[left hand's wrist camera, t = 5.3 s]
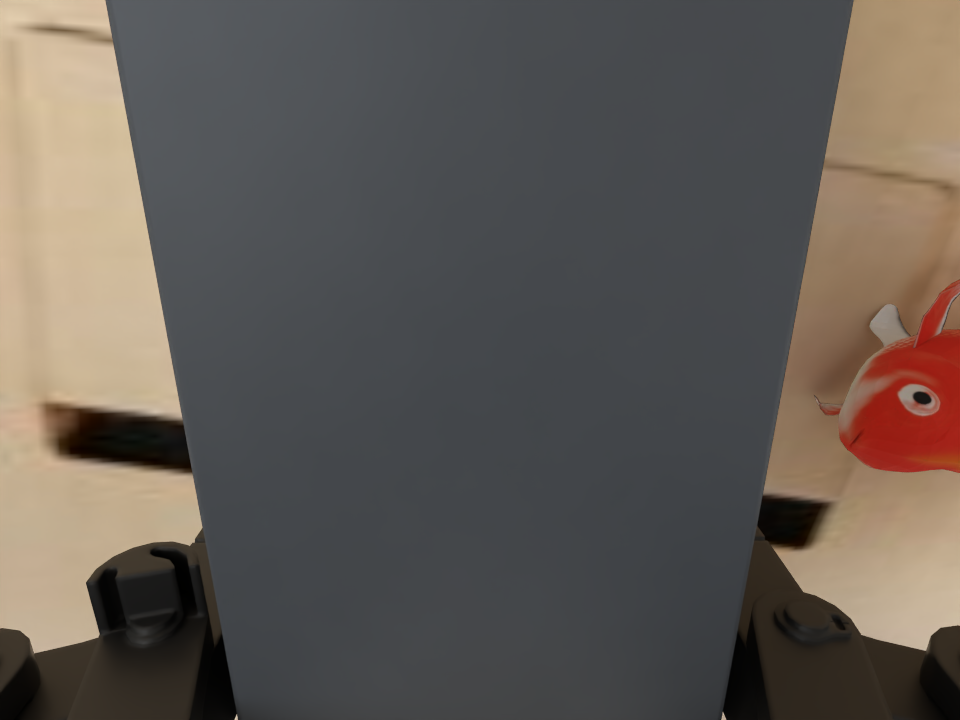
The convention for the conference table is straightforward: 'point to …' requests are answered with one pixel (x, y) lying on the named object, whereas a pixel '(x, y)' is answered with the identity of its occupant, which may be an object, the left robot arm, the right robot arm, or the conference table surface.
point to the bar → (479, 334)
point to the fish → (906, 395)
